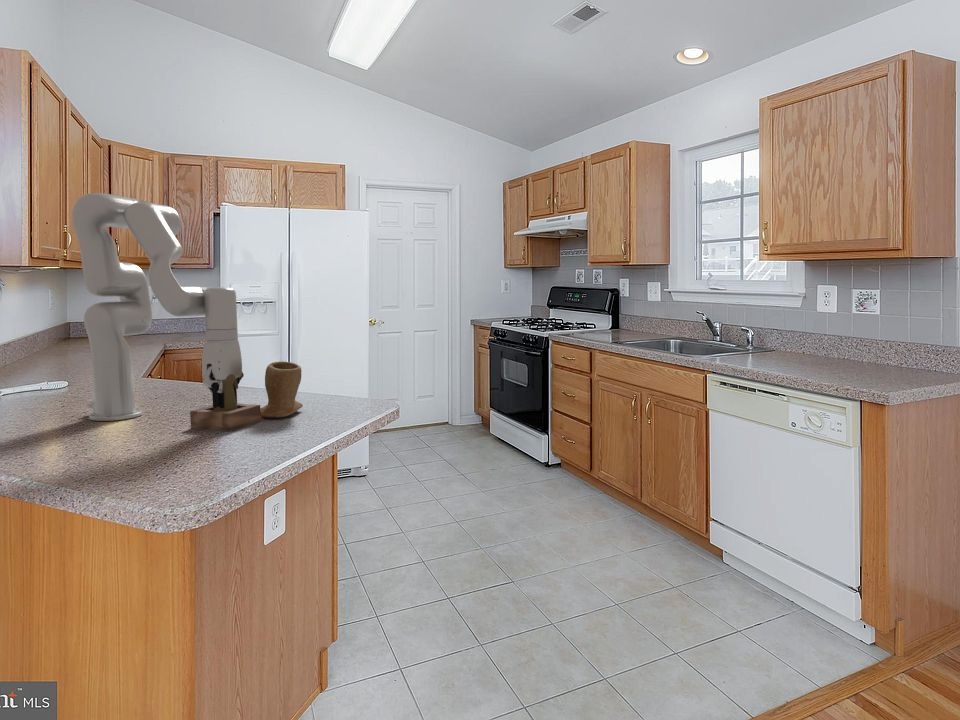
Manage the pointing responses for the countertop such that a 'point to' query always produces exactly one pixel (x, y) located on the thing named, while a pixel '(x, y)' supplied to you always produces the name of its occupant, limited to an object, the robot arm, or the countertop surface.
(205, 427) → the socket block
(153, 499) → the countertop surface
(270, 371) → the stone cup
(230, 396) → the olive knobbed peg
